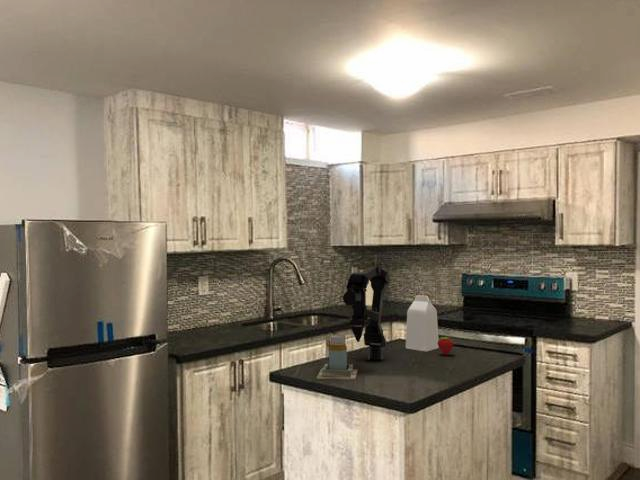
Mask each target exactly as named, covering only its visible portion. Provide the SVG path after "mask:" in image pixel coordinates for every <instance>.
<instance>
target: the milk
mask: <svg viewBox="0 0 640 480" xmlns="http://www.w3.org/2000/svg"><path fill="white" fill-rule="evenodd" d="M431 302H432V301H430V299H429V295H422V294H421V295H419V294H417V295H416V296H415V297H414V301H412V303H411V305H410V306H409V308H408V309H407V311H406V312H407V314H406V332H405V349H407V350H413V351H414V350H415V351H420V352H426V353H427V352H429V351H433V350H437V349H439V347H438V344H437V343H438V341H439V340H440V339H439V326H438V313H437V312H438V311H437V309H436V308H435V306H434V305H433V304H432V303H431Z"/></svg>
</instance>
